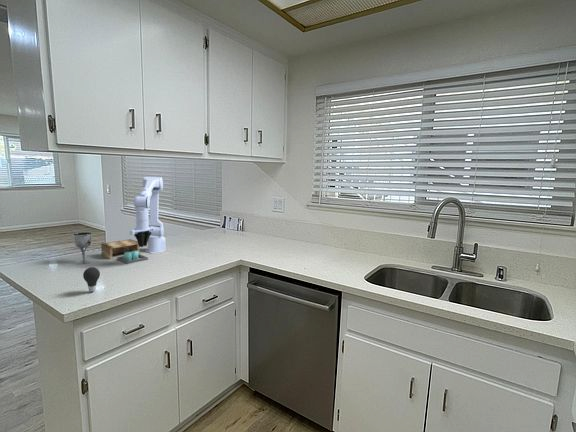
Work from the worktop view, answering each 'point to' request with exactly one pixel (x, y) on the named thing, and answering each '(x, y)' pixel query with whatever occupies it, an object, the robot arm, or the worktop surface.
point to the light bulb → (91, 277)
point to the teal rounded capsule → (128, 256)
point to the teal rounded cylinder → (135, 255)
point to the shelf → (119, 247)
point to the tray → (132, 260)
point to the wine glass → (82, 244)
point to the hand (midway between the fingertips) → (142, 246)
